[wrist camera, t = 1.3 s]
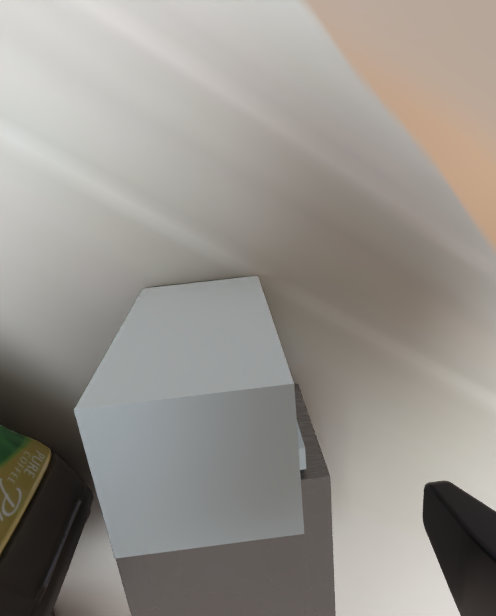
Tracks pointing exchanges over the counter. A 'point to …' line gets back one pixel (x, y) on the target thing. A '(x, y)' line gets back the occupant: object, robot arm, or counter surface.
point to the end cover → (194, 422)
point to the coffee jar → (36, 524)
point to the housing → (247, 562)
